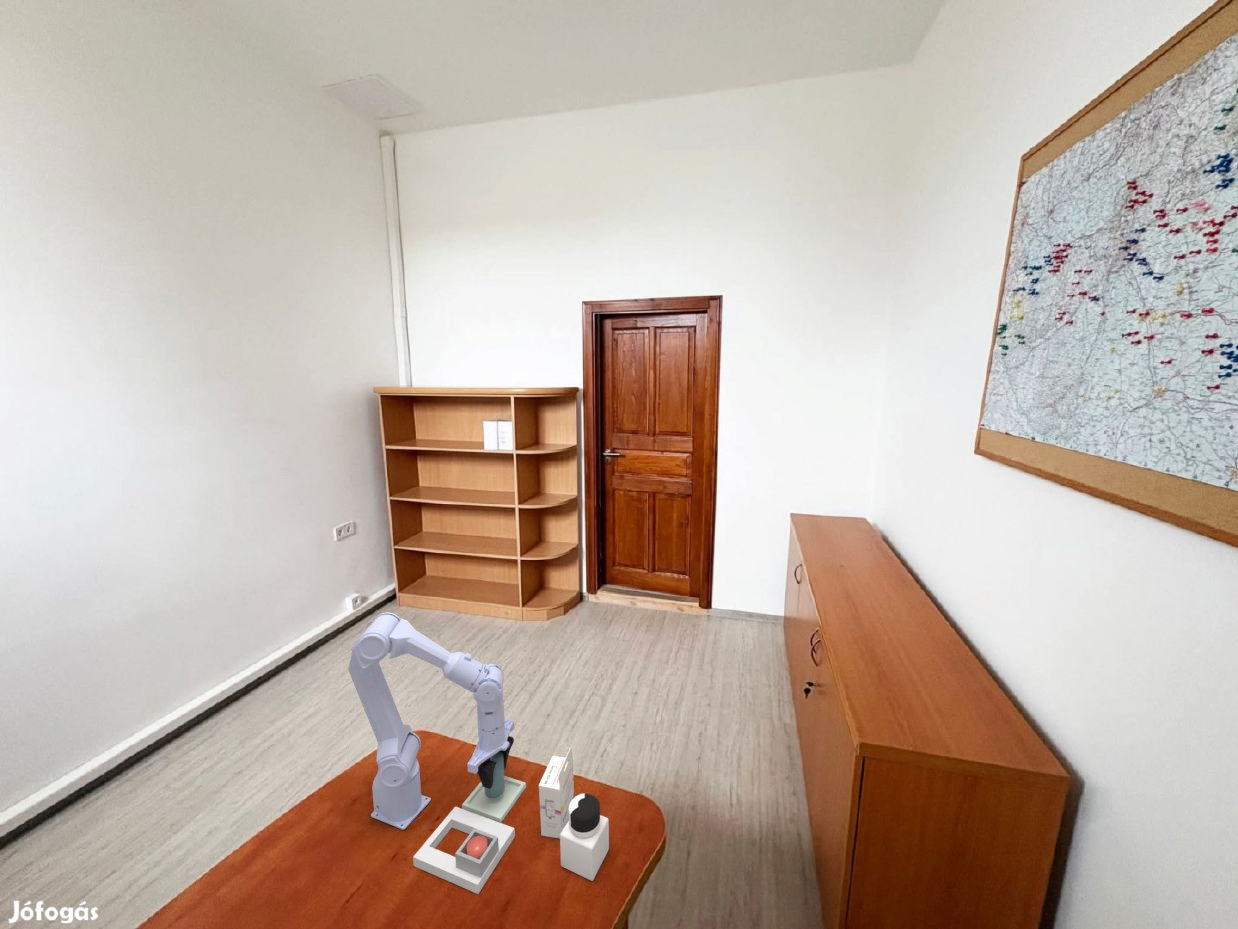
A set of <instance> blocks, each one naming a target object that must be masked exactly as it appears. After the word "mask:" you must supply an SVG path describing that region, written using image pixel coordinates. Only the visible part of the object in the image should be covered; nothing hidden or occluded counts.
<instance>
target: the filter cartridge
mask: <svg viewBox="0 0 1238 929" xmlns="http://www.w3.org/2000/svg"><path fill="white" fill-rule="evenodd" d="M490 760H491V761H494V762H497V763H496V765H495V768H494V772H493V785H492V787H491V789H488V788H485V787H484V788H485V795H486V796H487V797H488V798H497V797H499V796H500V795H502V794H503V792H504V790H505V780H504V776H505V771H504V759H503V753H502V752H500V751H499V752H497V753H496V754H494V755H493V756H491V757H490Z"/></svg>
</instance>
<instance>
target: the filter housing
mask: <svg viewBox="0 0 1238 929" xmlns="http://www.w3.org/2000/svg"><path fill="white" fill-rule="evenodd" d="M452 829H455V830H457V831H460V832H463V833H465V834H468V836H467V837H466V838H465V840H464V841H463V842H462V844H461V845H460V847H458V849H457V850H456V852H455V854H454V856H453V855H452V854H449V853H447V852H444V851H442V850H439V849H436V848H437V847H438V846H439V844H440V843H441V842H442V840H443V839H444V838H445V836H446V835H447V834H448V833H449V832H450V831H451V830H452ZM515 833H516V831H515V827H513V826H510V825H507V824H505V823H503V822H502V823H499V822H496V821H494V820H491V819H488V818H486V817H483V816H480V815H477V814H475V813H472V812H469V811H467V810H464V809H462V807H461V808H460V807H458V806H454V807H453V809H452V810H451V811H450V812H449V813H448V815H447V816H446V817H445V818H444V819H443V820H442V822H441V823H440V824H439V825H438V827H436V829H435V830H434V831H433V832H432V834H431V835H429V837H428V838H427V839H426V841H425V842H424V843H423V844H422V846H421V847H420V848H419V849H418V850H417V852H416V853H415V854H414V855H413V857H412V859H413V860H412V861H413V866H414V867H415V868H417V869H420V870H422V871H425V872H426V873H429V874H431V875H433V876H435V877H438V878H440V879H442V880H445V881H447V882H449V883H452V884H454V885H456V886H459V887H460V888H464V889H465V890H467V891H469V892H472V893H474V894H477V895H479V894H480V892H481V890H482V889H483V887H484V886H485V884H486V883H487V881H488V880H489V878H490V877H491V875H492V873H493V872H494V870H495V868H496V867H497V865H498V864H499V862H500V861H501V860H502V858H503V856H504V855H505V853H506V851H507V850H508V848H509V847H510V845H511V844H512V842H513V840H514V839H515V837H516V834H515ZM476 836H484V837H485V838H486V839H487V845H488V848H487V849H486V851H485V852H484V854H483V855H482V857H481V858H480V859H476V858H474V857H471V856H469V855H467V844H468V842H469V841H470V840H471V839H472V838H473V837H476Z"/></svg>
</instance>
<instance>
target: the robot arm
mask: <svg viewBox="0 0 1238 929" xmlns="http://www.w3.org/2000/svg"><path fill="white" fill-rule="evenodd" d="M350 650H351V655H350V660H349V664H348V673H349V675H350V679H351V680H352V683H353V685H354V687H355V690H356V691H357V692H356V693H357V694H358V695H357V696H358V698H359V700H360V702H361V704H362V708H363V709H364V712H365V714H366V716H367V719H368V722H369V724H370V727H371V729H372V731H373V734H374V736H375V739H376V742H377V749H376V764H377V766H378V767H377V768H378V770H377V773H376V775H375V777H374V780H373V783H372V799H373V811H372V813H371V814H370V817H371V818H373V819H376V820H378V821H380V822H383V823H385V824H387V825H391V826H393V827H394V828H397V829H400V830H406V829H407V828H408V827H409V825H411V823H413V821H414V820H415V819H416V818H417V817H418V816H419V814H420V813H421V812H422V811H423V810H424V809H425V808H426V807H427V805H428V804H429V803H430V802H431V801H432V800H431V797H428V796H426V795H423V794H422V788H421V786H422V785H421V774H420V771H421V770H420V763H419V760H418V759H417V754H418V753H419V751H420V748H421V745H422V742H421V739H420V737H419V735H418V734H417V733H415V732H414V731H413V730H412V728H411V725H409V724H404V723H403V720H402V717H401V715H400V713H399V710H398V707H397V705H396V703H395V700H394V698H393V695H392V692H391V690H390V687H389V685H388V683H387V679H386V677H385V675H384V672H383V669H382V667H381V664H380V661H382V660H383V659H384V658H385V657H387V655H388V654H390V656H389V659H394V658H398V657H401V656H403V655H405V654H406V655H407V654H409V655H411V656H412V657H415V658H418V659H420V660H422V661H424V662H426V663H428V664H431V665H433V666H435V667H437V668H439V669H441V670H442V674H443V677H444V678H445V679H446V680H449V681H451V682H453V683H454V684H456V685H458V686H459V687H462V688H463V689H465V690H467V691H469V692H471V693H473V694H472V695H473V699H474V700H475V702H476V703H477V705H476V716H477V732H478V733H477V734H478V741H477V744H476V746H475V748H474V751H473V753H472V756H471V758H470V759H469V761H468V762H467V765H466V766H467V772H468V773H471V774H475V775H476V774H477V775H478V777H479V780H480V782H481V783H482V786H483V787H485V788H488V789H491V787H492V785H493V772H494V768H495V765H496V763H497V762H494V761H491V760H490V757H491V756H493V755H494V754H496V753H497V752H499V751H500V752H502V753H503V759H504V772H505V771H506V768H507V764H508V758H509V754H510V751H511V749H512V747H513V745H514V743H515V738H514V736H511V735H510V733H511V732H513V731H514V730H515V720H512V719H508V718H507V719H505V718H506V717H505V702H504V694H503V685H504V682H505V681H504V680H505V677H504V676H505V675H504V671H503V670H502V668H501V667H500V666H498V664H494V663H490V664H485V663H482V662H480V661H478V660H477V659H475V658H474V657H472V654H470V653H469V652H466V653H464V652H462V651H456V652H450V651H449V650H447V649H446V648H444V647H443V646H442V645H440V644H438V643H436V642H435V641H433V639H431V638H429V637H427V636H426V635H424V634H423V633H421V632H419V630H417V629H415V628H414V626H412V624H411V623H410V622H409V621H408V620H407V619H404V618H401V617H399V615H397V614H395V613H393V612H390V611H389V612H388V611H387V612H382V613H379V614H378V615H377V616H375V618H373V620H372V621H371V622H370V624H369V625H368V627H367V628H366V629H365V631H364V633H362V634H361V635H360V636H359V638H357V640H356V642H354V644H353V645H352V646H351V649H350Z"/></svg>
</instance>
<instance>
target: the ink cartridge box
mask: <svg viewBox="0 0 1238 929" xmlns="http://www.w3.org/2000/svg"><path fill="white" fill-rule="evenodd" d="M568 749H569V750H568V751H567V754H566V757H564V756H557V755H552V756H551V758H550V761H549V763H548V765H547V766H546V769H545V771H544V772H543V775H542V777H541V779H540V782H539V784H538V793H539V794H538V796H539V797H538V798H539V814H540V815H539V816H540V818H539V819H540V832H541V833H540V835H541V836H543V837H547V838H554V839H559V840H560V833H561V832H562V830H563V829H564V827H565V826H566V824H567V822H568V821H569V804H570V802H571V801H572V799H573V798H575V788H574V787H575V785H574V782H575V780H574V758H573V750H572V747H571V746H570V747H569V748H568Z"/></svg>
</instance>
